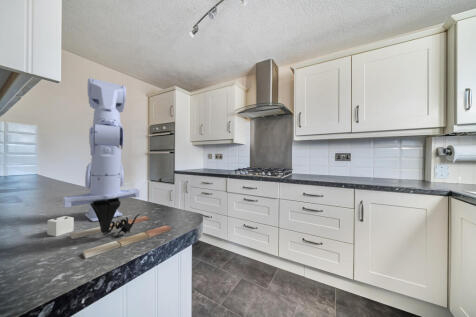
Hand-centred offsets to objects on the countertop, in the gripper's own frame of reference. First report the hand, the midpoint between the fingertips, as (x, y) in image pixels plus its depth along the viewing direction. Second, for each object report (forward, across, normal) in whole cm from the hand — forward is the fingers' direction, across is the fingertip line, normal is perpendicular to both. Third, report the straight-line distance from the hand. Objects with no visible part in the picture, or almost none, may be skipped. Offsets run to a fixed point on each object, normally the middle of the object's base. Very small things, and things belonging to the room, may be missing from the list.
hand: (104, 231), depth 42 cm
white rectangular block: (+2, -6, +12) cm, 14 cm away
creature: (+2, +3, +1) cm, 4 cm away
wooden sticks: (+2, +4, 0) cm, 4 cm away
